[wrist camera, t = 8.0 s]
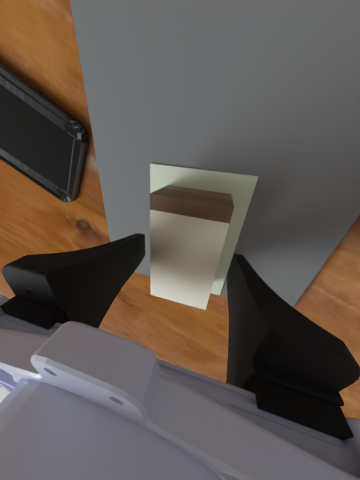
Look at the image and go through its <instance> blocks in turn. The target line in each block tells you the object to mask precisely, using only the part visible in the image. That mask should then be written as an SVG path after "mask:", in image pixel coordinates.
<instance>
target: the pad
mask: <svg viewBox="0 0 360 480" xmlns="http://www.w3.org/2000/svg"><path fill="white" fill-rule="evenodd" d="M257 180H258V176H252V175H243V174H235V173H226V172H218V171H209V170H201V169H193V168H184V167H176V166H167V165H159V164H150V193H152V192H154V191H156V190H158V189H161V188H163V187H165V186H167V185H171V186H178V187H185V188H192V189H199V190H206V191H213V192H220V193H227V194H231V195H232V199H233V204H234V210H233V213H232V217H231V220H230V224H229V228H228V231H227V235H226V238H225V242H224V245H223V249H222V253H221V256H220V260H219V263H218V267H217V271H216V274H215V278H214V281H213V285H212V289H211V292H210V293H212V294H216V295H220V293H221V290H222V287H223V284H224V281H225V278H226V275H227V272H228V269H229V266H230V263H231V259H232V256H233V253H234V250H235V247H236V244H237V241H238V238H239V235H240V232H241V229H242V226H243V223H244V220H245V217H246V213H247V210H248V207H249V204H250V201H251V198H252V195H253V192H254V189H255V186H256V183H257Z"/></svg>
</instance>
